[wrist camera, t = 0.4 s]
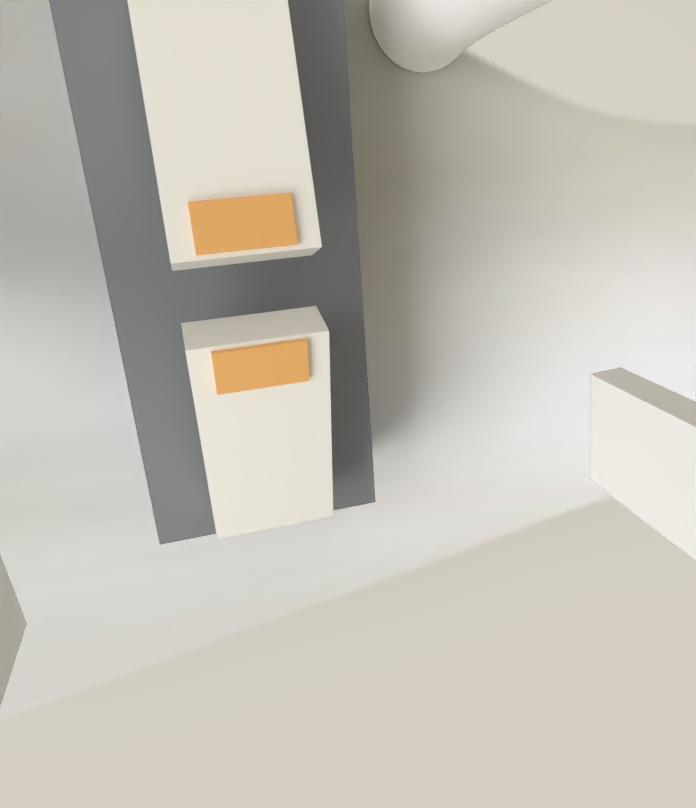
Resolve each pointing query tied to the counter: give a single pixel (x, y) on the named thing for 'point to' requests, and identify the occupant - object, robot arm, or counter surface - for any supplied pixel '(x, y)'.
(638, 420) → the robot arm
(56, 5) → the switch unit
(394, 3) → the cosmetic bottle
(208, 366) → the rocker
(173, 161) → the plate
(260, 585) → the counter surface
